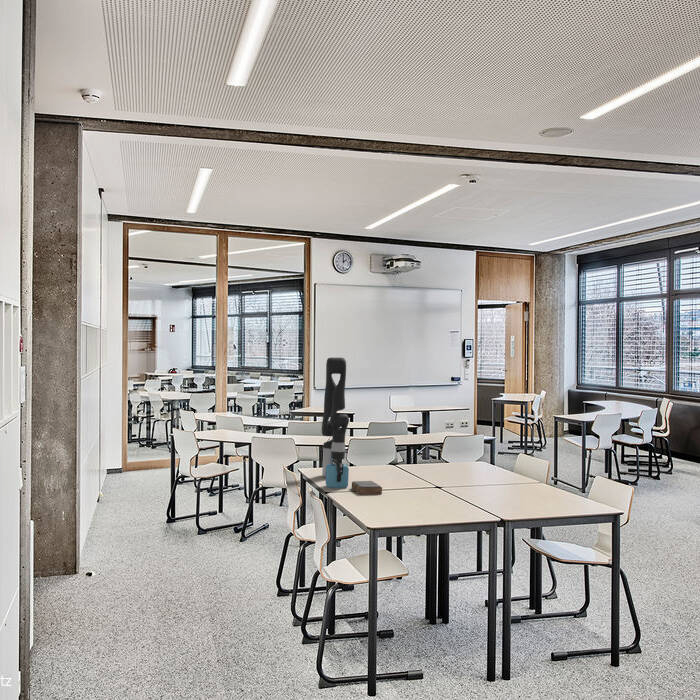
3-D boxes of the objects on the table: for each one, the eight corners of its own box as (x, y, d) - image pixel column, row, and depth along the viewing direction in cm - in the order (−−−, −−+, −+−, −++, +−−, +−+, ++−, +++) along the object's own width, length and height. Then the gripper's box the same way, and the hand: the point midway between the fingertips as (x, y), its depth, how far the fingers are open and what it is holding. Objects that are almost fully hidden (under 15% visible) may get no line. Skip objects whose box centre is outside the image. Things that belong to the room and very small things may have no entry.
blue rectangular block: (346, 486, 356) (347, 464, 356) (348, 487, 352) (348, 466, 352) (325, 486, 354) (326, 464, 354) (326, 487, 350) (327, 465, 350)
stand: (351, 488, 351) (351, 481, 351) (372, 487, 354) (372, 480, 354) (360, 494, 336) (360, 487, 336) (381, 494, 340) (382, 486, 340)
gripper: (328, 448, 359) (326, 477, 359) (335, 452, 345) (334, 483, 345) (340, 447, 361) (339, 477, 361) (348, 452, 347) (347, 482, 347)
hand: (336, 480), depth 353 cm, fingers open, 6 cm apart
